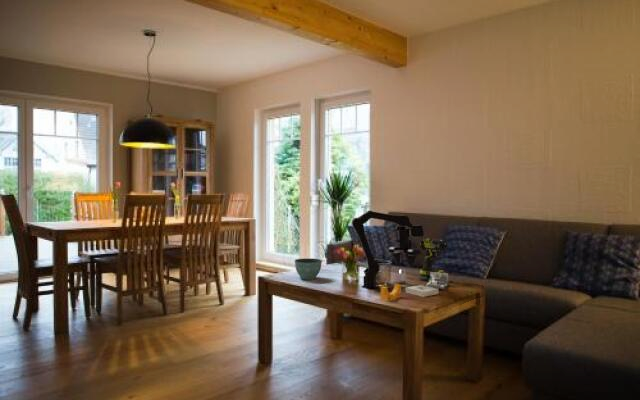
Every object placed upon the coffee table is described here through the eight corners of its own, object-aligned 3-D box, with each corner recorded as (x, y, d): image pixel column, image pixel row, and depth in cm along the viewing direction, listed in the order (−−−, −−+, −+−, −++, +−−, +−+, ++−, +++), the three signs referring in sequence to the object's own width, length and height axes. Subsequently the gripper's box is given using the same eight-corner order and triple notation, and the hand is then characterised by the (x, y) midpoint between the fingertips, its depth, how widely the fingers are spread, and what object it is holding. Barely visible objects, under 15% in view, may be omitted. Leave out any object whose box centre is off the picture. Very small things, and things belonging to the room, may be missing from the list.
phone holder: (444, 274, 252) (422, 272, 257) (443, 292, 252) (422, 290, 257) (450, 268, 268) (429, 266, 273) (449, 285, 268) (429, 283, 273)
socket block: (402, 291, 250) (402, 286, 250) (386, 287, 260) (386, 282, 260) (417, 288, 258) (417, 284, 258) (401, 284, 267) (401, 280, 267)
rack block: (423, 296, 239) (423, 292, 239) (405, 292, 249) (405, 287, 249) (438, 293, 247) (438, 289, 247) (420, 289, 256) (420, 284, 256)
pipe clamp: (387, 301, 229) (387, 288, 229) (380, 299, 233) (380, 286, 232) (403, 298, 237) (403, 285, 237) (396, 296, 240) (397, 283, 240)
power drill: (447, 283, 274) (448, 240, 273) (417, 280, 280) (418, 238, 279) (448, 280, 282) (450, 238, 281) (420, 277, 288) (421, 236, 288)
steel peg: (402, 289, 256) (402, 270, 256) (397, 287, 259) (397, 269, 259) (406, 288, 258) (407, 270, 258) (401, 287, 261) (402, 269, 261)
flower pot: (288, 278, 280) (289, 260, 279) (307, 274, 292) (307, 257, 292) (309, 282, 269) (309, 263, 269) (327, 278, 281) (327, 260, 281)
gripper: (427, 237, 255) (428, 266, 256) (402, 235, 271) (403, 262, 271) (412, 239, 249) (413, 269, 249) (388, 237, 264) (389, 265, 265)
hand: (405, 266), depth 259 cm, fingers open, 9 cm apart
